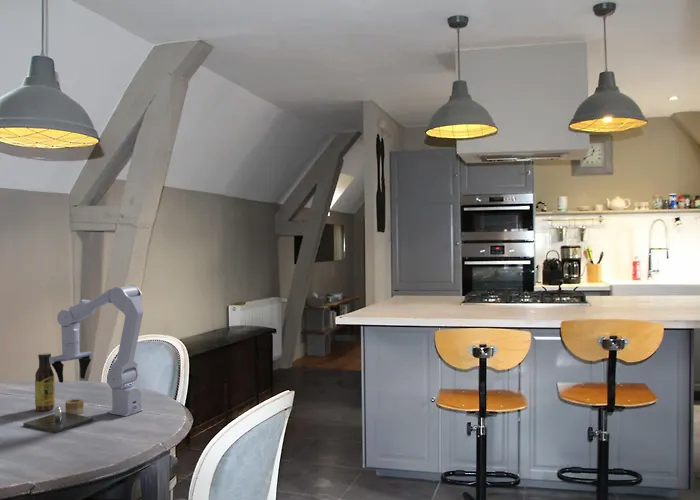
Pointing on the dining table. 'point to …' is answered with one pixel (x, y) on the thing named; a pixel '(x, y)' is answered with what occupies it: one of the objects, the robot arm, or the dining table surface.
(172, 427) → the dining table surface
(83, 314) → the robot arm
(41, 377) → the sauce bottle
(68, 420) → the hub
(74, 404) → the ring
